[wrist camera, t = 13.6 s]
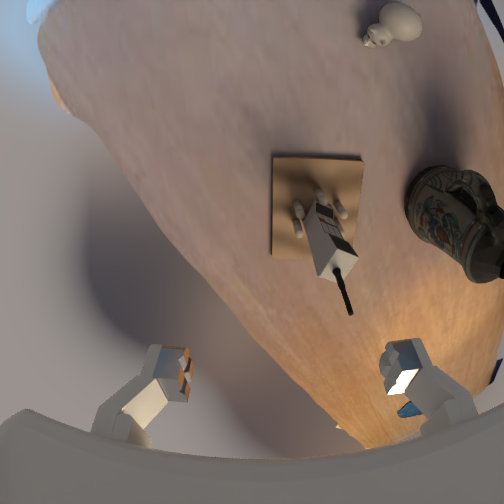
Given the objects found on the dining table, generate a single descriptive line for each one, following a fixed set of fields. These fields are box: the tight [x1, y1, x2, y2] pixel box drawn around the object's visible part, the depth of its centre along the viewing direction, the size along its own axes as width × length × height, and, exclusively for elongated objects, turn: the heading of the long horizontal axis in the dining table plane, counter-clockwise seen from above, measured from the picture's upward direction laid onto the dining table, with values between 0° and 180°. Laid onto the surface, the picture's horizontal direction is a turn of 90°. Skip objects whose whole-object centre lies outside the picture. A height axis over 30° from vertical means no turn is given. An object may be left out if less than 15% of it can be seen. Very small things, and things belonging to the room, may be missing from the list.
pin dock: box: [272, 157, 364, 259], centre depth 49 cm, size 20×16×6 cm
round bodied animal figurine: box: [362, 2, 422, 48], centre depth 29 cm, size 7×12×8 cm, turn 133°
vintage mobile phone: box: [303, 200, 359, 316], centre depth 40 cm, size 4×5×25 cm
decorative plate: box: [397, 402, 423, 418], centre depth 98 cm, size 30×30×5 cm
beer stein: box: [405, 165, 504, 284], centre depth 38 cm, size 16×19×25 cm
